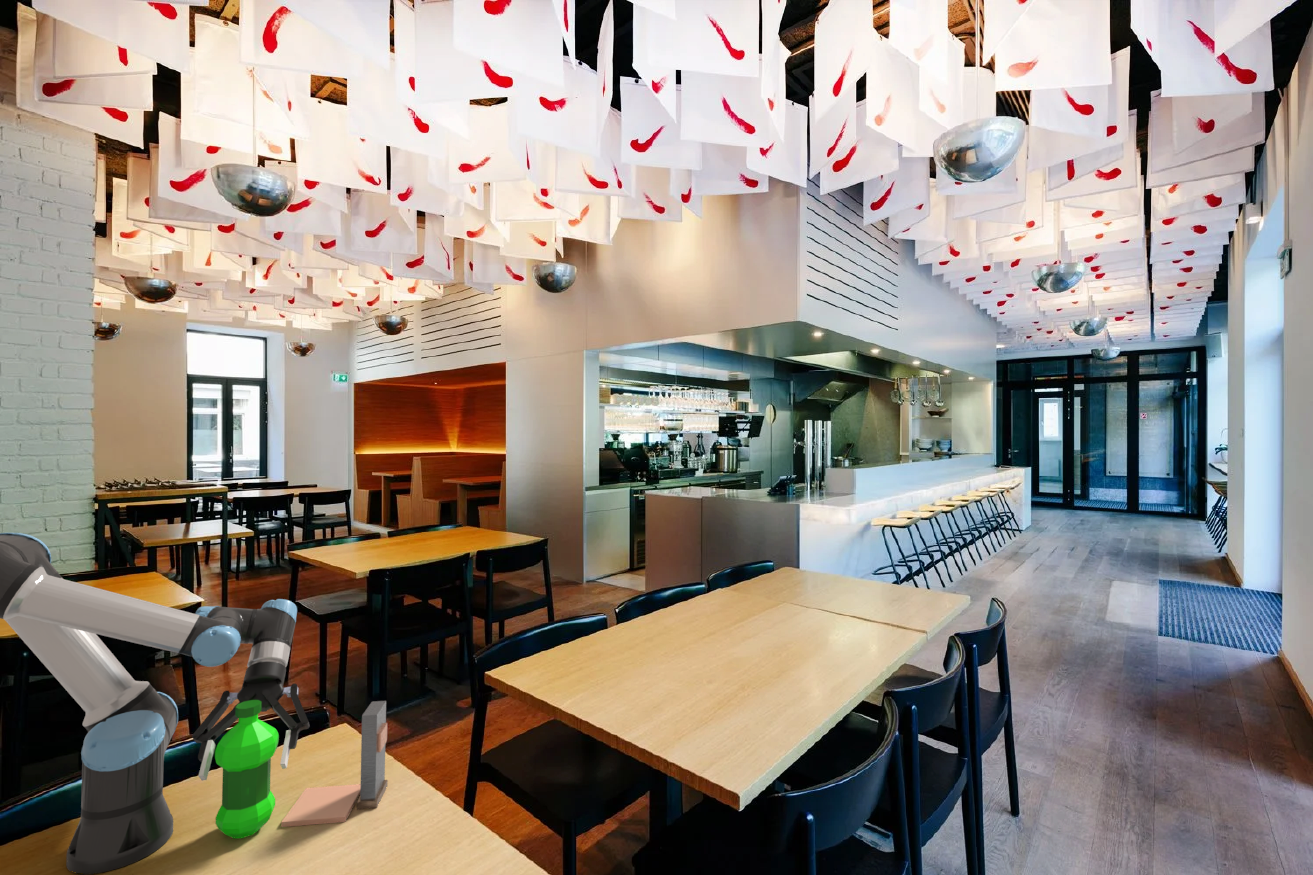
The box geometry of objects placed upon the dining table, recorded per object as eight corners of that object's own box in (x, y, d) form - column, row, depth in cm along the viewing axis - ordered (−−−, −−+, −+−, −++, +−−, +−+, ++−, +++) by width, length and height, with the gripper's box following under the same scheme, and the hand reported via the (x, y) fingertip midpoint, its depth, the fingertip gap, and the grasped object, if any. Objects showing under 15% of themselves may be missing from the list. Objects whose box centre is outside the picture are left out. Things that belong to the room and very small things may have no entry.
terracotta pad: (281, 826, 120) (281, 821, 120) (305, 792, 132) (306, 787, 132) (345, 821, 122) (345, 816, 122) (363, 788, 134) (363, 783, 134)
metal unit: (356, 809, 126) (358, 716, 126) (368, 787, 134) (370, 700, 134) (377, 807, 127) (379, 715, 127) (387, 786, 135) (389, 699, 135)
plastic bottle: (206, 852, 112) (209, 719, 113) (224, 819, 122) (226, 697, 122) (268, 840, 116) (271, 711, 116) (280, 809, 126) (283, 690, 126)
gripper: (332, 669, 138) (317, 767, 124) (203, 681, 130) (172, 789, 115) (328, 653, 133) (313, 754, 119) (194, 666, 125) (160, 776, 110)
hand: (243, 772), depth 117 cm, fingers open, 13 cm apart
